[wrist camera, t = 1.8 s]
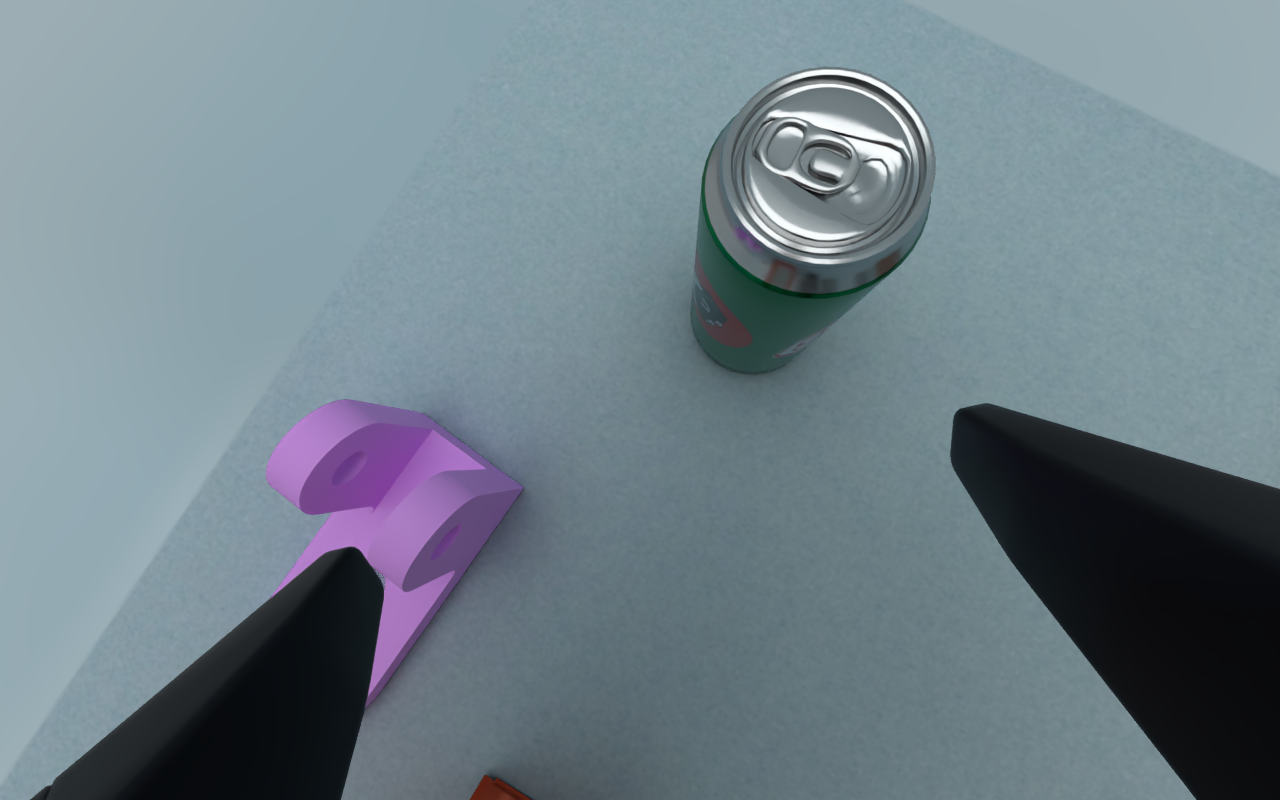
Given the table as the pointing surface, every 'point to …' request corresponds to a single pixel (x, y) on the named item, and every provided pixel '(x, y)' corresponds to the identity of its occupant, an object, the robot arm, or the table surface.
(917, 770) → the table surface
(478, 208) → the table surface
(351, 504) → the bracket
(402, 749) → the table surface
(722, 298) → the soda can
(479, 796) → the file binder
